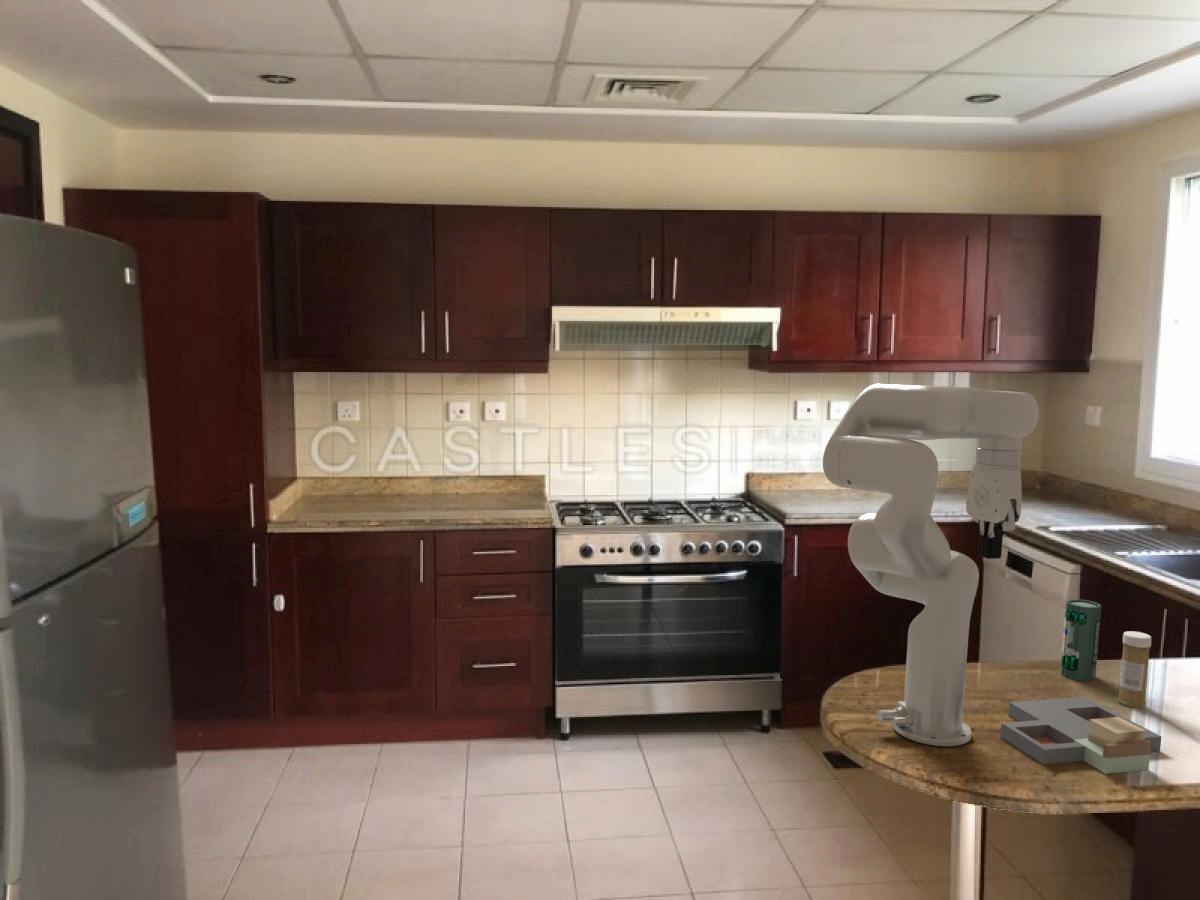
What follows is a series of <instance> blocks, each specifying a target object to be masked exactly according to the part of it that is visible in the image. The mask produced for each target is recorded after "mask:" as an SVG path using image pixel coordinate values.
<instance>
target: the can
mask: <svg viewBox="0 0 1200 900" xmlns="http://www.w3.org/2000/svg"><path fill="white" fill-rule="evenodd" d="M1064 607H1065V609H1064V619H1063V620H1064V622H1063V631H1062V632H1063V634H1062V643H1061V644H1062V645H1061V655H1060V656H1061V657H1060V667H1059V668H1060V669H1059V673H1060V674H1061V676H1064V678H1068V679H1070V680H1075V681H1083V682H1091V681H1094V680H1095V679H1096V676H1097V675H1096V673H1097V664H1098V663H1097V662H1098V650H1099V649H1098V648H1099V638H1100V627H1101V619H1102V618H1101V617H1102V616H1101V615H1102V605H1101V604H1100V603H1098V602H1097V601H1091V600H1087V599H1079V598H1075V599H1073V598H1071V599H1067V600H1065V606H1064Z"/></svg>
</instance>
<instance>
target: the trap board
mask: <svg viewBox="0 0 1200 900" xmlns="http://www.w3.org/2000/svg"><path fill="white" fill-rule="evenodd" d="M1008 704H1009V705H1008V714H1007V715H1008V717H1010V718H1011V719H1013V720H1015V721H1011V722H1009V721H1008V722H1001V726H1000V738H1001V739H1002V740H1004V741H1006V742H1008V743H1009V744H1011V745H1012V746H1013V747H1014V748H1016V749H1018V750H1020V751H1021V752H1023V753H1024V754H1026V756H1027V755H1028V757H1030V758H1032V759H1033V760H1035V761H1037V762H1039V763H1040V764H1041V765H1042V766H1043V765H1046V766H1047V765H1057V764H1068V763H1077V762H1079V761H1080V762H1085V763H1086V762H1087V764H1088V765H1089V766H1091V765H1092V766H1091V767H1093V768H1094V769H1096V768H1097V769H1096V770H1098V771H1099V772H1102V773H1103V774H1104V775H1107V774H1117V773H1118V774H1119V773H1129V772H1139V771H1149V767H1150V757H1151V756H1150V755H1151V753H1154V751H1156V752H1160V751H1161V745H1162V736H1161V735H1160V734H1157V733H1155V732H1154V731H1152V730H1150V729H1147V728H1145V727H1144V726H1141V725H1139V724H1138V723H1136V722H1134V721H1132V720H1130V719H1128V718H1126V717H1124V716H1122V715H1120V714H1118V713H1117V712H1114V711H1112V710H1111V709H1109V708H1106V707H1104V706H1102V705H1101V704H1098V703H1096V702H1094V701H1093V700H1091V699H1089V698H1087V697H1084V696H1077V697H1062V698H1049V699H1035V700H1034V699H1033V700H1022V701H1021V700H1020V701H1009V703H1008ZM1111 717H1119V718H1121V719H1123V720H1125V721H1127V722H1129V723H1131V724H1133V725H1135V726H1137V727H1139V728H1141V729H1143V730H1145V731H1146V732H1145V740H1144V741H1132V742H1120V743H1109V744H1104V747H1103V748H1101V747H1099V746H1098V745H1096V744H1094V743H1092V742H1090V741H1089V740H1088V735H1089V723H1090V719H1100V718H1111Z"/></svg>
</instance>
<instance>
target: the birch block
mask: <svg viewBox="0 0 1200 900" xmlns="http://www.w3.org/2000/svg"><path fill="white" fill-rule="evenodd" d="M1145 732H1146V731H1145V730H1143V729H1141V728H1139V727H1137V726H1135V725H1133V724H1131V723H1129V722H1127V721H1125V720H1123V719H1121V718H1119V717H1111V718H1100V719H1090V723H1089V735H1088V740H1089V741H1090V742H1092V743H1094V744H1096V745H1098V746H1099V747H1101V748H1103V747H1104V744H1109V743H1120V742H1132V741H1144V740H1145Z"/></svg>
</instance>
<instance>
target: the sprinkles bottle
mask: <svg viewBox="0 0 1200 900" xmlns="http://www.w3.org/2000/svg"><path fill="white" fill-rule="evenodd" d="M1122 645H1123V648H1122V657H1121V662H1120V663H1121V664H1120V666H1121V667H1120V676H1119V690H1118V691H1119V692H1118V698H1117V701H1118V702H1119V704H1121V705H1123V706H1126V707H1130V708H1134V709H1135V708H1136V709H1138V708H1139V709H1140V708H1144V707H1145V706H1146V695H1147V688H1148V675H1149V674H1148V671H1149V660H1150V649H1151V647H1152V636H1151V635H1149V634H1148V633H1144V632H1141V631H1133V630H1132V631H1131V630H1130V631H1124V632H1123V634H1122Z"/></svg>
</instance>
